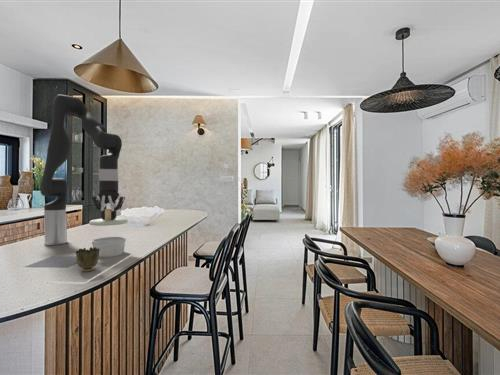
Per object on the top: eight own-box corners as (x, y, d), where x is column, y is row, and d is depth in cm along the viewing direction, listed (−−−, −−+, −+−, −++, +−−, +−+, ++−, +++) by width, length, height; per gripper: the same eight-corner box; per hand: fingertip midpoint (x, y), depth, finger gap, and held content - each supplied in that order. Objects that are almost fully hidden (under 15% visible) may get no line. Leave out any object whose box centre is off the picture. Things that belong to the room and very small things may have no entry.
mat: (53, 257, 126) (53, 255, 126) (91, 257, 126) (91, 256, 126) (24, 268, 110) (24, 266, 110) (67, 269, 110) (67, 267, 110)
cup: (75, 276, 101) (74, 252, 101) (76, 270, 108) (76, 248, 108) (99, 273, 105) (99, 250, 105) (99, 267, 111) (99, 246, 111)
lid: (100, 220, 138) (100, 207, 138) (133, 220, 138) (133, 207, 137) (81, 225, 123) (81, 210, 123) (118, 225, 123) (118, 210, 122)
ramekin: (90, 260, 122) (90, 243, 122) (92, 253, 134) (92, 237, 134) (126, 257, 127) (126, 241, 127) (125, 250, 139) (125, 235, 139)
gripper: (128, 179, 133) (128, 218, 134) (97, 179, 134) (97, 218, 134) (121, 179, 126) (121, 221, 126) (87, 179, 126) (87, 220, 126)
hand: (108, 219), depth 130 cm, fingers closed on lid, 3 cm apart
